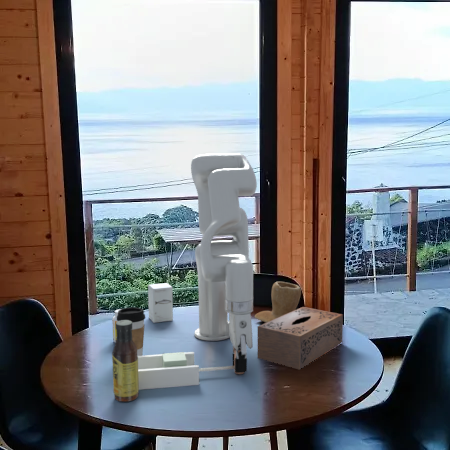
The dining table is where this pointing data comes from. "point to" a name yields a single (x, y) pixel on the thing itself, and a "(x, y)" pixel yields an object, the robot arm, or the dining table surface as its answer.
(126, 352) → the sauce bottle
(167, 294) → the supplement box
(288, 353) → the tissue box cover
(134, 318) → the coffee cup
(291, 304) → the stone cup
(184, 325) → the dining table surface
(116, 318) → the supplement bottle
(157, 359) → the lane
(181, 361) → the sliding handle
